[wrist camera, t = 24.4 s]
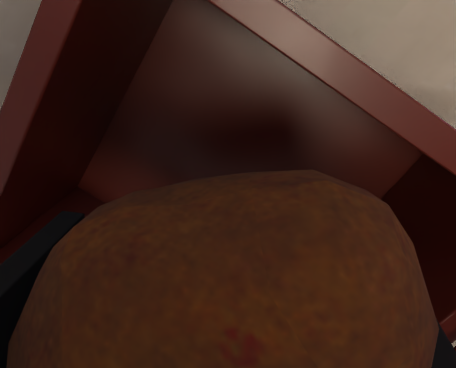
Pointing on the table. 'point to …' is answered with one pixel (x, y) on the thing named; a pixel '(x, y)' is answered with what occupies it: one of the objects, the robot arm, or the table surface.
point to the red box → (214, 118)
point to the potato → (232, 281)
